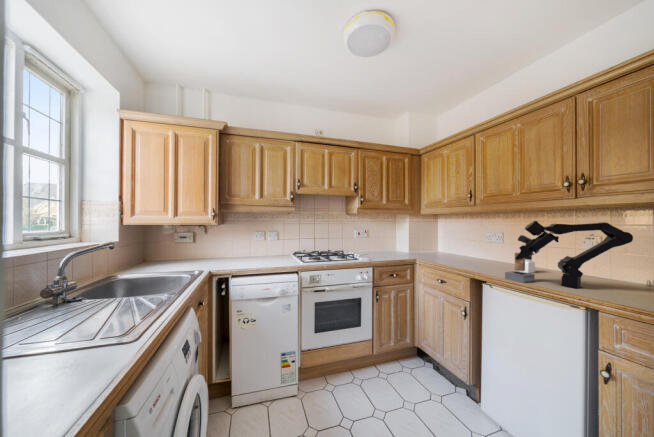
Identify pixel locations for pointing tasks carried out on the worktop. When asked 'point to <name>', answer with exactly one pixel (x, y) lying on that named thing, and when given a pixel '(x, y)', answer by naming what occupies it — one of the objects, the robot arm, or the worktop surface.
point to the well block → (519, 276)
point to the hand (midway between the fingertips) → (516, 258)
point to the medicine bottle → (529, 265)
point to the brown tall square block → (519, 263)
